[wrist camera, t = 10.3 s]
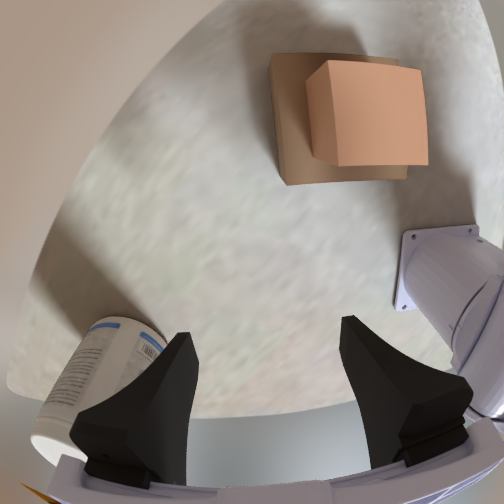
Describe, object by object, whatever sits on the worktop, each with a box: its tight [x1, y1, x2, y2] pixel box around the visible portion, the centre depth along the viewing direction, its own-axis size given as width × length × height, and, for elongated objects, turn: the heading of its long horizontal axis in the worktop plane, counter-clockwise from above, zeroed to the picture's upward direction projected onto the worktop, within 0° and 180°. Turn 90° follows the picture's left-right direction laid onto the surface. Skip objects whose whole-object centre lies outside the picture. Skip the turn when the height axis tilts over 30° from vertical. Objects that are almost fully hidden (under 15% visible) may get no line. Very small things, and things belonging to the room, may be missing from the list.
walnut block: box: [268, 53, 407, 186], centre depth 17 cm, size 8×8×4 cm
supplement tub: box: [30, 317, 167, 467], centre depth 20 cm, size 10×10×15 cm
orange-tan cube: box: [305, 60, 428, 166], centre depth 12 cm, size 5×5×5 cm
